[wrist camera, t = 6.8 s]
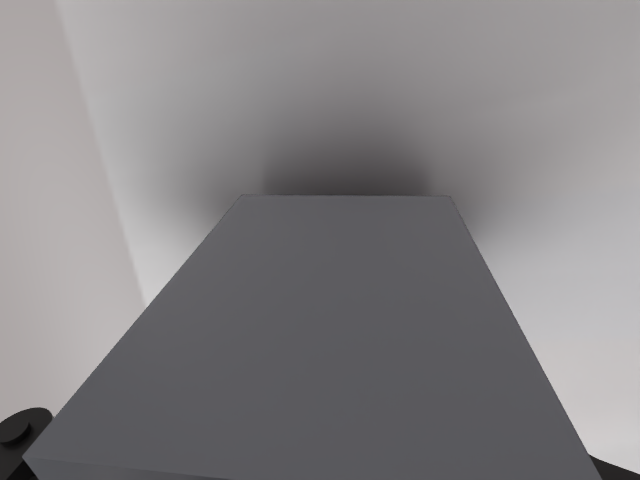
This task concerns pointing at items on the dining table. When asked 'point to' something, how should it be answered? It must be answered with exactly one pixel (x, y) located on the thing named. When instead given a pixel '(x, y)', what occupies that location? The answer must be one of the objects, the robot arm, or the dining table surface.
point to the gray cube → (321, 360)
